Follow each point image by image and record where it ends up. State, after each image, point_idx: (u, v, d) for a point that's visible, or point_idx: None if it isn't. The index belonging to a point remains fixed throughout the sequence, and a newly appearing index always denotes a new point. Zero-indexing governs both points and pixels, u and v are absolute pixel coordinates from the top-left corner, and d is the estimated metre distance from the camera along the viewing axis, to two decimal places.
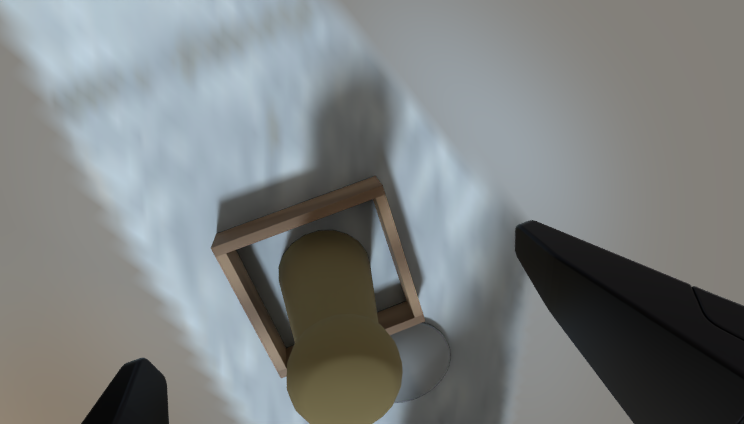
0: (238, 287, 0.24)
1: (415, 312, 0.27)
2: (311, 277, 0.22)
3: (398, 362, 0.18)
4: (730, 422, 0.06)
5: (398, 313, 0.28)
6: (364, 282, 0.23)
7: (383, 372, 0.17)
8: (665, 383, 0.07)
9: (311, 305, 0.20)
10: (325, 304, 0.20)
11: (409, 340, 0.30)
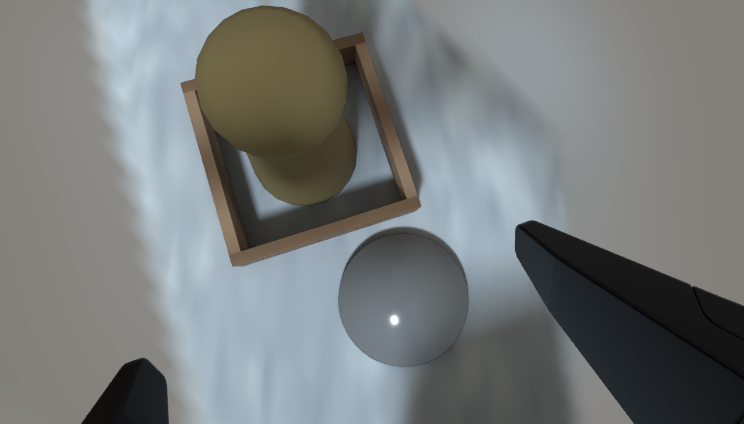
0: (200, 131, 0.21)
1: (407, 191, 0.22)
2: None
3: (336, 49, 0.14)
4: (730, 422, 0.06)
5: None
6: None
7: (310, 34, 0.13)
8: (665, 383, 0.07)
9: None
10: None
11: (408, 258, 0.23)
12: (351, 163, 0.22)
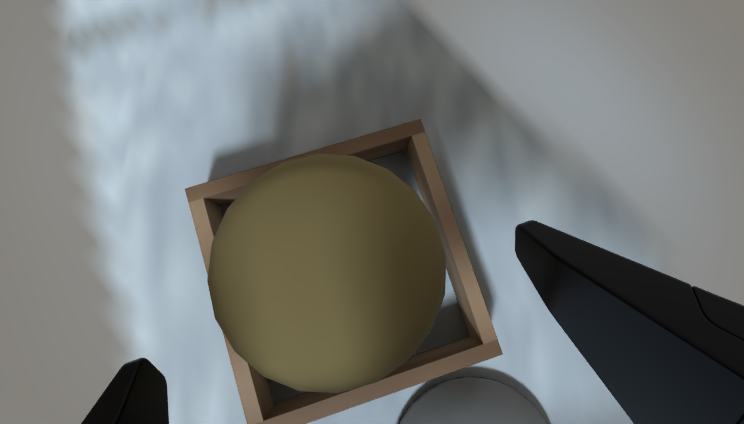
0: (210, 253, 0.16)
1: (483, 333, 0.16)
2: None
3: (434, 224, 0.09)
4: (730, 422, 0.06)
5: (456, 346, 0.17)
6: None
7: (399, 214, 0.08)
8: (666, 384, 0.07)
9: None
10: None
11: (480, 413, 0.17)
12: None
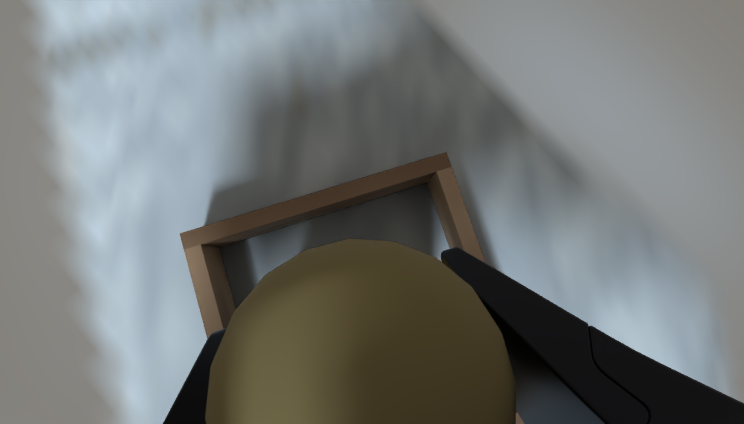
0: (209, 308, 0.14)
1: None
2: None
3: (501, 340, 0.07)
4: None
5: None
6: None
7: (461, 338, 0.06)
8: None
9: None
10: None
11: None
12: None
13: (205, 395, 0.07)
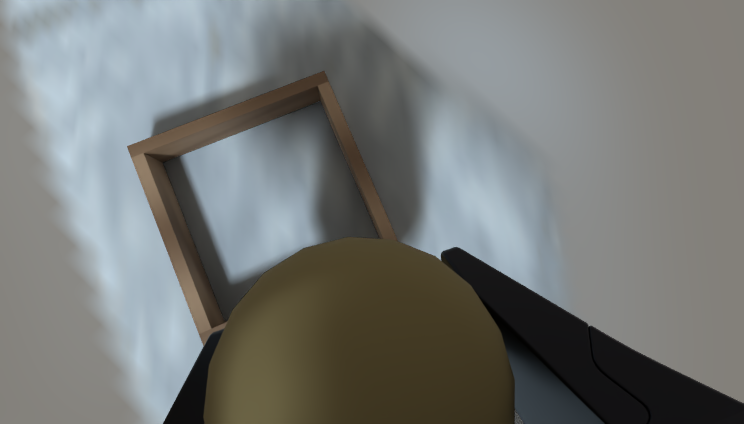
0: (154, 198, 0.19)
1: None
2: None
3: (500, 338, 0.07)
4: None
5: None
6: None
7: (460, 336, 0.06)
8: None
9: None
10: None
11: None
12: None
13: (205, 395, 0.07)
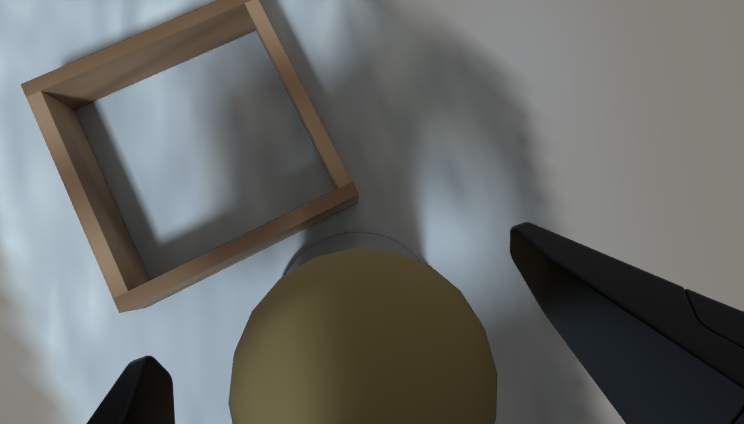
0: (55, 142, 0.16)
1: (337, 178, 0.17)
2: None
3: (485, 337, 0.08)
4: None
5: None
6: None
7: (449, 335, 0.07)
8: (658, 387, 0.07)
9: None
10: None
11: None
12: None
13: None
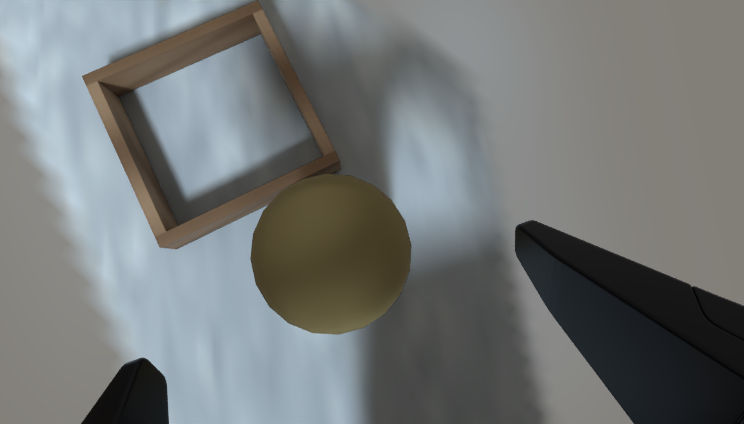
0: (109, 120, 0.21)
1: (324, 148, 0.22)
2: None
3: (402, 223, 0.13)
4: (730, 422, 0.06)
5: None
6: None
7: (378, 216, 0.12)
8: (665, 384, 0.07)
9: None
10: None
11: None
12: None
13: None
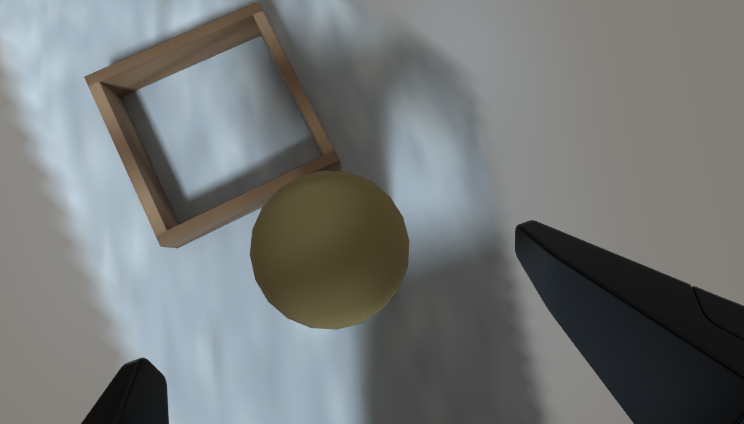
0: (110, 120, 0.22)
1: (323, 147, 0.22)
2: None
3: (400, 218, 0.13)
4: (730, 422, 0.06)
5: None
6: None
7: (375, 211, 0.12)
8: (665, 383, 0.07)
9: None
10: None
11: None
12: None
13: None
